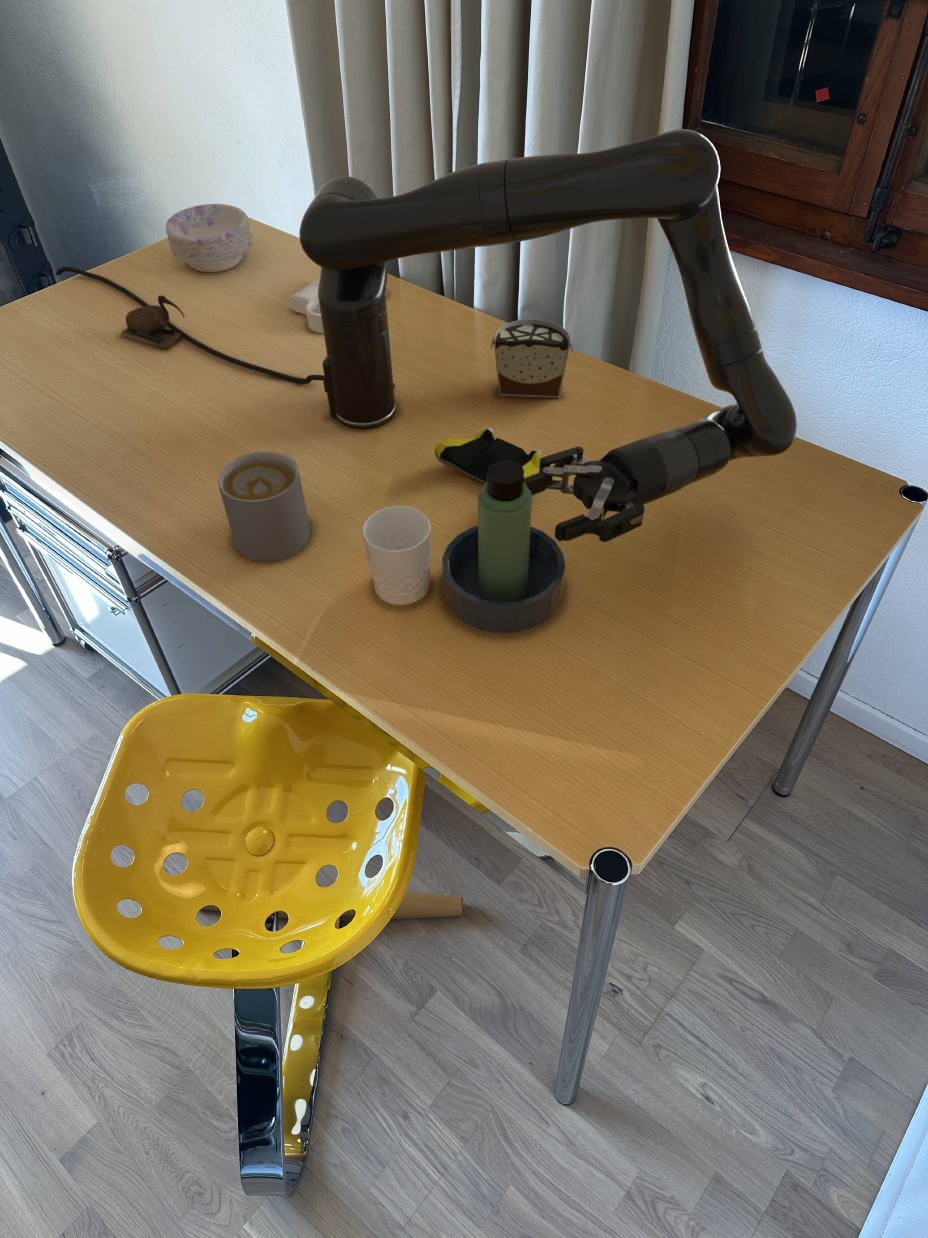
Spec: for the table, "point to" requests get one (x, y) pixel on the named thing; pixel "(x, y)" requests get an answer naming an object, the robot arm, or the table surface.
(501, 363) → the food container
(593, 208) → the robot arm
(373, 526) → the white cup
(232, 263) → the paper bowls
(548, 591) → the dark blue bowl
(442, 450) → the black and yellow shoe
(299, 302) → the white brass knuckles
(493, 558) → the bottle
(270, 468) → the coffee mug
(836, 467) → the table surface
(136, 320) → the figurine
